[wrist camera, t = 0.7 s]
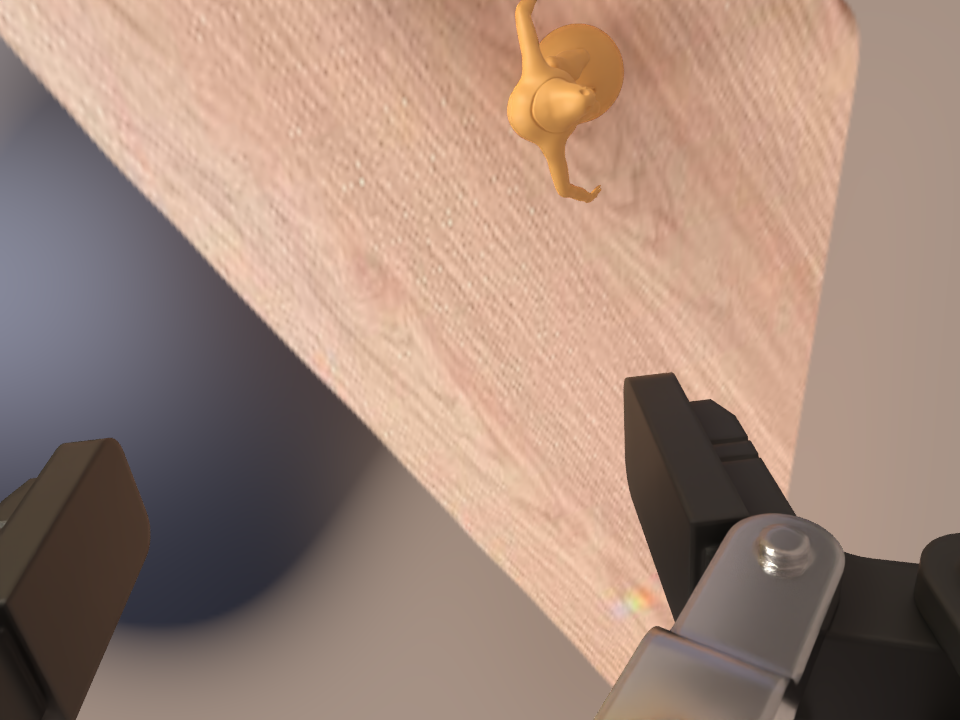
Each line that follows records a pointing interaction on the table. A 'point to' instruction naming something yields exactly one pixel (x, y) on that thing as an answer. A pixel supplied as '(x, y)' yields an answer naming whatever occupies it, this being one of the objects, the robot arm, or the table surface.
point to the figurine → (562, 89)
